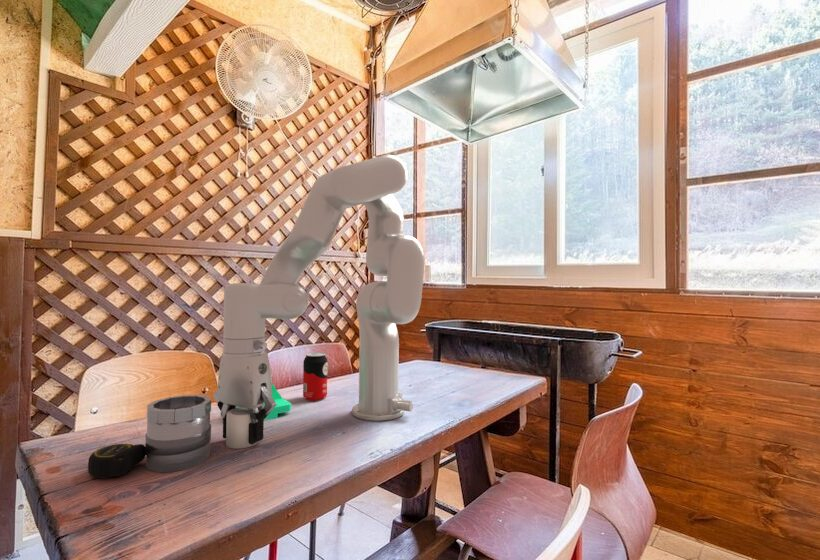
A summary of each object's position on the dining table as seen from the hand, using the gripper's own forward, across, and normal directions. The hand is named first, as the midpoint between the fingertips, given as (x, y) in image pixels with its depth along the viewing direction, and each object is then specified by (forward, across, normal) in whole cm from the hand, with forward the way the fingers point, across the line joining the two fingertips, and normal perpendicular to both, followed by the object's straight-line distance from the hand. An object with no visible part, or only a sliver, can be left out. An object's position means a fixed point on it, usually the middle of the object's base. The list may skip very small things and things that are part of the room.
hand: (243, 437), depth 79 cm
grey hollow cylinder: (+1, +4, +10) cm, 11 cm away
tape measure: (+1, +9, +17) cm, 20 cm away
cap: (+1, 0, 0) cm, 1 cm away
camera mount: (+1, +9, -14) cm, 16 cm away
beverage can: (+1, +6, -30) cm, 31 cm away
